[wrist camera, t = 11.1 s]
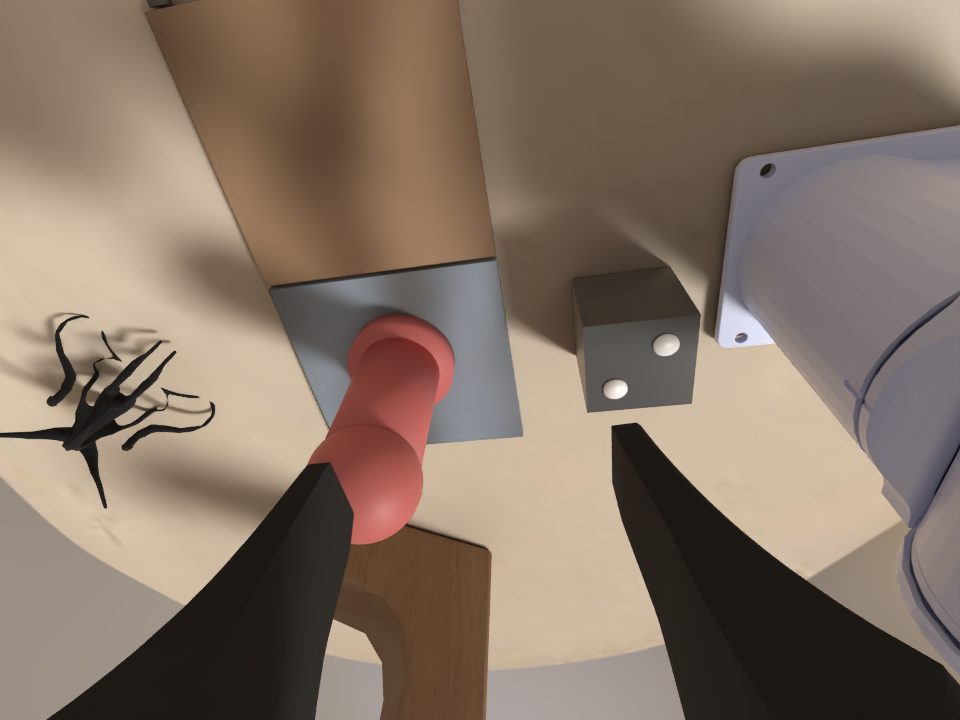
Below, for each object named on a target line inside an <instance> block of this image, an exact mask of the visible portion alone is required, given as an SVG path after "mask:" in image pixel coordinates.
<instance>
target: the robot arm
mask: <svg viewBox="0 0 960 720" xmlns="http://www.w3.org/2000/svg"><path fill="white" fill-rule="evenodd" d="M769 163H771V169H770V171H769V172H768V173H767V174H766V175H763V176H760V171H761V169H762V167H763V166H764V165H766V164H769ZM740 333H744V334H743V336H741V337H740V338H735V337H736V336H737V335H738V334H740ZM714 337H715V341H716V342H717V344H718V345H719V346H720V347H722V348H734V347H744V346H754V345H764V344H774V343H776V344H777V346H778V347H779V348H780V349H781V350H782V352H783V353H784V354H785V355H786V357H787V358H788V359H789V360H790V362H791V363H792V364H793V365H794V366H795V368H796V369H797V370H798V371H799V373H800V374H801V375H802V376H803V378H804V379H805V380H806V381H807V382H808V384H809V385H810V386H811V387H812V389H813V390H814V391H815V392H816V393H817V395H818V396H819V397H820V398H821V400H822V401H823V402H824V403H825V405H826V406H827V407H828V408H829V409H830V411H831V412H832V413H833V414H834V416H835V417H836V418H837V419H838V421H839V422H840V423H841V424H842V425H843V427H844V428H845V429H846V430H847V432H848V433H849V434H850V435H851V436H852V438H853V439H854V440H855V441H856V443H857V444H858V445H859V446H860V448H861V449H862V450H863V451H864V452H865V453H866V454H867V456H868V458H869V459H870V460H871V461H872V463H873V464H874V465H875V466H876V467H877V469H878V470H879V471H880V472H881V474H882V475H883V478H884V485H883V488H882V494H883V495H884V497H885V498H886V499H887V500H888V502H889V503H890V504H891V505H892V507H893V508H894V509H895V511H896V512H897V513H898V514H899V516H900V517H901V518H902V520H903V521H904V522H905V523H906V525H907V526H908V527H909V528H912V529H911V530H910V531H909V532H908V534H907V535H906V536H905V537H904V540H903V541H902V543H901V545H900V548H899V552H898V556H897V580H898V584H899V588H900V591H901V595H902V598H903V600H904V602H905V604H906V606H907V609H908V611H909V613H910V615H911V617H912V618H913V620H914V621H915V623H916V625H917V626H918V628H919V629H920V631H921V632H922V634H923V635H924V637H925V638H926V639H927V640H928V642H929V643H930V644H931V645H932V646H933V648H934V649H935V650H936V651H937V652H938V654H939V655H940V656H941V657H942V659H944V661H945V662H946V663H947V664H948V665H949V666H950V667H952V669H953V670H955V671H956V672H957V673H958V674H959V675H960V125H958V126H951V127H944V128H938V129H931V130H924V131H917V132H911V133H904V134H897V135H891V136H884V137H877V138H870V139H864V140H857V141H850V142H844V143H837V144H830V145H823V146H817V147H810V148H803V149H797V150H790V151H783V152H776V153H770V154H763V155H756V156H750V157H747V158H745V159H744V160H742V161H741V162H740V163H739V164H738V166H737V167H736V170H735V173H734V181H733V189H732V197H731V206H730V214H729V222H728V230H727V238H726V246H725V254H724V262H723V270H722V279H721V287H720V295H719V303H718V311H717V319H716V327H715V335H714ZM612 483H613V487H614V491H615V495H616V499H617V503H618V507H619V511H620V515H621V519H622V522H623V525H624V528H625V530H626V533H627V536H628V539H629V541H630V544H631V547H632V549H633V552H634V555H635V557H636V560H637V563H638V565H639V568H640V571H641V573H642V576H643V579H644V581H645V584H646V587H647V590H648V592H649V595H650V598H651V600H652V603H653V606H654V608H655V611H656V615H657V618H658V621H659V624H660V627H661V630H662V634H663V638H664V641H665V645H666V648H667V652H668V656H669V659H670V663H671V666H672V670H673V674H674V678H675V682H676V686H677V689H678V693H679V697H680V701H681V704H682V708H683V712H684V716H685V720H960V685H959V683H958V682H957V681H956V680H955V679H954V678H953V677H952V676H951V674H950V673H949V672H948V671H947V670H946V669H945V667H944V666H943V665H942V664H940V663H938V662H937V661H935V660H933V659H931V658H930V657H928V656H926V655H924V654H923V653H921V652H919V651H917V650H916V649H914V648H912V647H911V646H909V645H907V644H905V643H904V642H902V641H900V640H898V639H897V638H895V637H893V636H891V635H889V634H888V633H886V632H884V631H883V630H881V629H879V628H877V627H876V626H874V625H873V624H871V623H869V622H868V621H866V620H865V619H863V618H862V617H860V616H858V615H857V614H855V613H854V612H852V611H850V610H849V609H847V608H846V607H844V606H843V605H841V604H840V603H838V602H837V601H835V600H834V599H832V598H831V597H829V596H828V595H827V594H825V593H824V592H822V591H821V590H819V589H818V588H816V587H815V586H814V585H812V584H810V583H809V582H808V581H806V580H805V579H804V578H802V577H801V576H799V575H798V574H796V573H795V572H794V571H792V570H791V569H789V568H788V567H787V566H785V565H784V564H783V563H781V562H780V561H779V560H778V559H776V558H775V557H774V556H772V555H771V554H770V553H768V552H767V551H766V550H765V549H763V548H762V547H761V546H760V545H758V544H757V543H756V542H755V541H754V540H752V539H751V538H750V537H749V536H747V535H746V534H745V533H744V532H743V531H741V530H740V529H739V528H738V527H737V526H736V525H735V524H733V523H732V522H731V521H730V520H729V519H728V518H727V517H726V516H724V515H723V514H722V513H721V512H720V511H719V510H718V509H717V508H716V507H715V506H714V505H713V504H712V503H710V502H709V501H708V500H707V499H706V498H705V497H704V496H703V495H702V494H701V493H700V492H699V491H698V490H697V489H696V488H695V487H694V486H693V485H692V484H691V483H690V482H689V480H688V479H687V478H686V477H685V476H684V475H683V474H682V473H681V472H680V471H679V470H678V469H677V468H676V467H675V466H674V465H673V464H672V462H671V461H670V460H669V459H668V458H667V457H666V456H665V454H664V453H663V452H662V451H661V450H660V449H659V448H658V446H657V445H656V444H655V443H654V442H653V440H652V439H651V438H650V437H649V435H648V434H647V433H646V432H645V430H644V429H643V428H642V426H641V425H639V424H638V423H630V424H622V425H614V426H612ZM353 520H354V512H353V509H352V507H351V505H350V503H349V501H348V499H347V497H346V494H345V492H344V490H343V488H342V486H341V484H340V482H339V480H338V477H337V475H336V473H335V471H334V469H333V467H332V465H331V462H325V463H317V464H309V465H307V466H306V467H305V469H304V470H303V471H302V472H301V473H300V475H299V476H298V477H297V478H296V480H295V481H294V482H293V484H292V485H291V486H290V487H289V489H288V490H287V491H286V492H285V494H284V495H283V496H282V498H281V499H280V500H279V501H278V503H277V504H276V505H275V506H274V508H273V509H272V510H271V511H270V513H269V514H268V515H267V516H266V518H265V519H264V520H263V521H262V522H261V524H260V525H259V526H258V527H257V529H256V530H255V531H254V532H253V534H252V535H251V536H250V537H249V538H248V539H247V540H246V542H245V543H244V544H243V545H242V546H241V547H240V548H239V550H238V551H237V552H236V553H235V554H234V555H233V556H232V558H231V559H230V560H229V561H228V562H227V563H226V564H225V565H224V567H223V568H222V569H221V570H220V571H219V572H218V573H217V574H216V575H215V576H214V577H213V579H212V580H211V581H210V582H209V583H208V584H207V585H206V586H205V587H204V588H203V589H202V590H201V591H200V592H199V593H198V594H197V595H196V596H195V597H194V598H193V599H192V600H191V601H190V602H189V603H188V604H187V605H186V606H185V607H184V608H183V609H182V610H181V611H179V612H178V613H177V614H176V615H175V616H174V617H173V618H172V619H171V620H170V621H168V622H167V623H166V624H165V625H164V626H163V627H162V628H161V629H160V630H158V631H157V632H156V633H155V634H154V635H153V636H152V637H151V638H149V639H148V640H147V641H146V642H145V643H144V644H143V645H142V646H140V647H139V648H138V649H137V650H136V651H135V652H134V653H132V654H131V655H130V656H129V657H127V658H126V659H125V660H124V661H123V662H121V663H120V664H119V665H118V666H116V667H115V668H114V669H113V670H112V671H110V672H109V673H108V674H107V675H105V676H104V677H103V678H102V679H100V680H99V681H98V682H96V683H95V684H94V685H93V686H91V687H90V688H89V689H87V690H86V691H85V692H84V693H82V694H81V695H80V696H78V697H77V698H76V699H74V700H73V701H72V702H70V703H69V704H68V705H66V706H65V707H63V708H62V709H61V710H60V711H58V712H56V713H55V714H54V715H52V716H51V717H49V718H48V719H47V720H315V714H316V706H317V699H318V693H319V685H320V679H321V673H322V667H323V660H324V655H325V650H326V646H327V641H328V637H329V633H330V629H331V625H332V621H333V617H334V613H335V609H336V605H337V601H338V597H339V593H340V589H341V585H342V581H343V577H344V573H345V569H346V565H347V561H348V557H349V552H350V546H351V538H352V530H353Z"/></svg>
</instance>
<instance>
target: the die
mask: <svg viewBox="0 0 960 720" xmlns="http://www.w3.org/2000/svg"><path fill="white" fill-rule="evenodd" d="M572 293H573V309H574V325H575V341H576V357H577V362H578V367H579V372H580V377H581V383H582V388H583V393H584V398H585V403H586V409H587V413H589V412H601V411H612V410H624V409H635V408H647V407H658V406H670V405H682V404H692V396H693V386H694V376H695V366H696V356H697V347H698V337H699V327H700V317H701V314H700V312H699V311H698V309H697V308H696V306H695V305H694V303H693V301H692V300H691V298H690V297H689V295H688V294H687V292H686V290H685V289H684V287H683V286H682V284H681V283H680V281H679V280H678V278H677V276H676V275H675V273H674V272H673V270H672V269H671V267H670V266H669V267H661V268H653V269H645V270H637V271H629V272H620V273H612V274H604V275H596V276H588V277H580V278H572Z"/></svg>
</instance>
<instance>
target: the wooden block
mask: <svg viewBox="0 0 960 720" xmlns="http://www.w3.org/2000/svg"><path fill="white" fill-rule="evenodd" d="M491 559H492V555H491V552H490V551H489V550H486V549H483V548H480V547H476V546H473V545H469V544H466V543H462V542H459V541H455V540H452V539H449V538H445V537H442V536H438V535H435V534H431V533H428V532H424V531H421V530H418V529H414V528H411V527H407V526H403V527H402V528H401V529H400V530H399V531H397V532H396V533H395V534H393V535H392V536H390V537H388V538H386V539H384V540H381V541H378V542H375V543H371V544H351V546H350V552H349V557H348V561H347V565H346V569H345V573H344V577H343V581H342V585H341V589H340V593H339V597H338V601H337V605H336V609H335V613H334V617H333V619H335V620H337V621H339V622H341V623H343V624H345V625H348V626H350V627H352V628H354V629H356V630H359V631H361V632H363V633H365V634H366V635H367V637H368V639H369V641H370V642H371V644H372V646H373V647H374V649H375V651H376V653H377V654H378V656H379V658H380V660H381V661H382V671H383V697H384V701H383V706H382V712H381V717H380V720H486V696H487V669H488V643H489V616H490V588H491Z"/></svg>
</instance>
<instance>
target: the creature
mask: <svg viewBox="0 0 960 720" xmlns="http://www.w3.org/2000/svg"><path fill="white" fill-rule="evenodd" d="M81 317H84V318H89V317H88V316H85V315H80V316H74V317H71V318H69V319H67V320H65V321H64V322H63V323H61V324H60V325H59V327H58V329H57V330H56V333H55V340H56V352H57V354H58V356H59V359H60V361H61V364H62V366H63V370H64V373H65V380H64V382H63V384H62V385H61V389H60V390H59V391H58V392H57V393H56V394H55V395H54V396H53V397H52V396H50V397H49V398H48V399H47V404H48V405H49V406H52V407H53V406H56V405H57V404H58V403H59V402H60V401H62V400H63V399H64V398H65V396H66V395H67V394H68V393H69V392H70V391H71V390H72V387H73V385H74V382H75V380H76V374H75V372H74V370H73V367H72V365H71V363H70V362H69V360H68V359H67V357H66V356H65V354H64V351H63V347H62V343H61V339H60V335H59V333H60V332H61V330H62V329H63V328H64V326H65V325H66V323H67V322H68V321H71V320H74V319H77V318H81ZM101 331H102V330H101ZM101 333H102V339H103V340H104V342H105V344H106V346H107V347H108V349H109V350H110V352H111V353H112V355H113V357H112V358H107V359H115V360H118V361H121V360H120V359H119V358H118V357H117V356H116V355H115V354H114V353H113V351H112V350H111V349H110V347H109V345H108V344H107V340H106V337H105V334H104V332H103V331H102V332H101ZM161 343H162V341H161V340H160V341H159V342H158V343H156V344H155V345H154V346H153V347H152V348H151V349H150V350H149V351H148V352H146V353H145V354H144V355H141V356H139V357H138V358H136V359H135V360H133V361H132V362H131V363H130V364H129V365H128V366H127V367H126V368H125V369H124V370H123V371H122V372H121V373H120V374H119V376H118V377H117V378H116V379H115V380H114V381H113V383H112V384H111V385H109V386H107V387H106V388H105V389H104V390H103V391H102V393H101V394H100V395H99V397H98V399H97V400H96V402H95V404H94V406H90V405H88V404H87V403H86V400H85V399H86V396H87V392H88V390H89V389H90V388H91V387H92V385H93V384H94V383H95V381H96V380H97V379H98V377H99V372H98V371H97V370H96V368H95V363H96V362H98V361H101V360H103V359H100V360H98V361H96V362H95V363H94V364H93V367H94V371H95V374H94V375H93V377H92V378H91V379H90V381H89V382H88V383H87V384H86V385H85V387H84V388H83V390H82V396H81V399H80V403H79V405H78V407H77V410H76V413H75V423H74V425H73V426H72V427H60V428H51V429H46V430H40V431H33V432H12V433H0V437H5V438H24V439H50V440H58V441H63V442H64V443H63V445H62V446H63V447H64V448H65V449H66V451H69V450H75V451H78V450H79V451H80V452H81V453H82V454H83V456H84V458H85V460H86V462H87V464H88V467H89V470H90V473H91V475H92V477H93V479H94V481H95V483H96V486H97V488H98V491H99V494H100V497H101V501H102V504H103V506H104V508H105V509H106V508H107V504H106V499H105V495H104V491H103V486H102V483H101V480H100V477H99V470H98V450H97V447H96V442H95V441H96V440H98V439H100V438H102V437H105V436H108V435H112V434H114V433H116V432H118V431H121V430H123V429H126V428H128V427H131V426H134V425H136V424H138V423H140V422H141V421H143V420H144V419H145V418H146V417H148V416H149V415H150V414H152V413H153V412H155V411H164V410H165V409H166V408H165V409H163V410H157V409H150V410H148V411H147V412H145V413H144V414H143V415H142V416H141V417H139V418H138V419H137V420H135V421H134V422H132V423H130V424H127V425H124V426H120V425H118V424H117V423H116V421H115V420H114V419H115V418H117V417H119V416H120V415H122V414H124V413H125V412H127V411H128V410H129V409H131V408H132V407H133V406H134V404H135V402H136V398H137V397H139V396H140V395H141V394H142V393H143V392H144V391H145V390H147V389H148V388H149V387H150V386H151V385H152V384H153V383H154V382H155V381H156V380H157V379H158V377H159V375H160V373H161V372H162V369H163V367H164V366H165V365H166V363H167V362H168V361H169V360H170V359H171V358H172V357H173V356H174V355H175V354H176V351H173V352H172V353H171V354H170V355H169V356H168V357H167V358H166V359H165V360H164V361H163V362H162V363H161V365H160V366H159V367H158V368H157V369H156V370H155V371H154V372H153V373H152V374H151V375H150V376H149V377H148V378H147V379H146V380H145V381H143V382H142V383H141V384H140V385H139V387H138V388H137V389H136V390H135V391H134V392H133V393H132V394H131V395H128V396H125V395H123V394H122V393H120V392H119V391H120V387H119V385H120V384H121V383H122V382H123V381H125V380H126V379H127V378H128V377H129V376H130V375H131V374H132V373H133V372H134V371H135V369H136V368H137V367H138V366H139V365H140V364H141V363H142V361H143V360H144V359H146V358H147V357H148V356H149V355H150V354H151V353H152V352H153V351H154V350H155V349H156V348H157V347H158V346H159V345H160V344H161ZM105 359H106V358H105ZM121 362H122V361H121ZM161 389H162V390H163V392H164V393H165V394H166V395H167V399H168V395H169V394H172V395H176V396H182V397H187V398H200V397H198V396H193V395H179V394H175V393H173V392H170V391H167V390H165V389H163V388H161ZM210 404H211V407H212V414H211V416H210V417H209V419H208V420H207V421H206V422H205V423H204V424H203V425H202V426H195V427H186V428H177V427H171V426H164V425H154V424H153V425H149V426H147V427H145V428H143V429H141V430H139V431H137V432H136V433H135V434H134V435H133V436H132V437H130V438H129V439H128V440H127V441H126V442H125V443H124V444H123V445H122V450H124V451H129V450H131V449H132V448H133V445H134V444H135V443H136V442H137V441H138V440H139V439H140V438H143V437H145V436H147V435H149V434H150V433H154V432H174V433H183V432H191V431H195V430H197V429H199V428H202V427H204V426H206V425H207V424H208V423H209V422H210V421H211V420H212V418H213V417H214V414H215V405H214V404H213V403H212V402H210ZM167 405H168V403H167ZM167 405H166V407H167Z"/></svg>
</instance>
